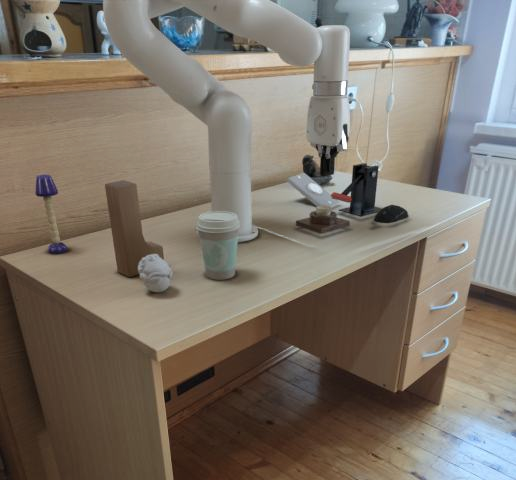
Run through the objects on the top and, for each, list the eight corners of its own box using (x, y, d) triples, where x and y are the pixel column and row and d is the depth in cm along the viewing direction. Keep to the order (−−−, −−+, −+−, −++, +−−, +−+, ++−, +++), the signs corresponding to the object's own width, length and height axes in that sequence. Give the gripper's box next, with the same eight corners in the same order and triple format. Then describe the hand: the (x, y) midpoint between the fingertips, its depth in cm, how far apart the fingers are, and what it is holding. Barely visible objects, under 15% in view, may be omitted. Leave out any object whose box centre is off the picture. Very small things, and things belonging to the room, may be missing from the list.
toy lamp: (44, 249, 122) (28, 175, 114) (64, 245, 125) (49, 172, 117) (52, 255, 119) (36, 179, 111) (72, 250, 122) (58, 175, 113)
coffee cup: (191, 274, 108) (186, 216, 102) (222, 263, 113) (220, 207, 108) (218, 286, 103) (215, 225, 97) (250, 274, 108) (249, 216, 102)
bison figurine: (321, 180, 181) (323, 149, 176) (336, 184, 176) (338, 152, 171) (295, 186, 174) (296, 154, 169) (311, 190, 169) (312, 157, 164)
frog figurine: (158, 281, 105) (154, 247, 102) (181, 290, 101) (178, 255, 98) (133, 291, 101) (128, 256, 98) (156, 301, 97) (152, 265, 94)
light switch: (326, 206, 146) (288, 174, 149) (317, 223, 150) (280, 192, 153) (342, 200, 152) (305, 169, 155) (332, 216, 156) (296, 186, 159)
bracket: (360, 220, 140) (364, 170, 134) (338, 214, 146) (341, 165, 139) (384, 213, 146) (390, 165, 139) (362, 207, 151) (366, 160, 145)
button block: (320, 237, 128) (321, 221, 126) (295, 229, 134) (296, 213, 132) (349, 229, 133) (350, 213, 131) (323, 221, 139) (324, 206, 138)
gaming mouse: (361, 226, 136) (362, 210, 134) (391, 214, 145) (393, 199, 143) (383, 231, 132) (384, 215, 130) (412, 218, 141) (414, 203, 139)
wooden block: (153, 261, 115) (143, 175, 106) (165, 266, 113) (156, 179, 104) (117, 272, 110) (103, 183, 101) (129, 278, 107) (116, 187, 98)
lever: (349, 204, 137) (347, 197, 135) (332, 200, 141) (330, 193, 139) (378, 174, 139) (376, 167, 138) (361, 171, 143) (358, 163, 142)
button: (323, 218, 130) (323, 209, 129) (312, 215, 132) (313, 206, 131) (333, 215, 132) (334, 207, 131) (323, 212, 134) (323, 204, 133)
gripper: (295, 89, 121) (294, 172, 130) (343, 93, 111) (338, 182, 120) (318, 87, 125) (316, 167, 134) (367, 90, 115) (361, 177, 124)
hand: (327, 174), depth 127 cm, fingers closed
